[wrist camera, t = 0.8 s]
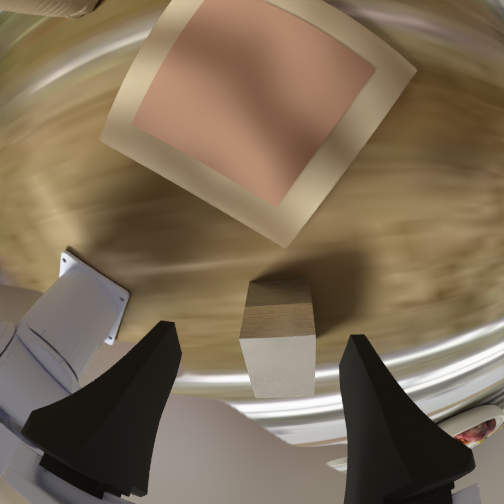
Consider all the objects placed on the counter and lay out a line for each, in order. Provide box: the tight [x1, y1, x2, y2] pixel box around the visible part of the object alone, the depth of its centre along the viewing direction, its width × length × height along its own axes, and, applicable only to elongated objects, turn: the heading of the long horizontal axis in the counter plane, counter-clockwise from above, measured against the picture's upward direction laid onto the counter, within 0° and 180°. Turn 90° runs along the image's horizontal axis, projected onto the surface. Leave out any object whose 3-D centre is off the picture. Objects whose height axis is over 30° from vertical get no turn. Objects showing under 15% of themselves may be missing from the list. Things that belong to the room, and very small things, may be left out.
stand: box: [99, 0, 417, 249], centre depth 13 cm, size 14×14×2 cm
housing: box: [239, 278, 316, 398], centre depth 20 cm, size 4×7×6 cm, turn 8°
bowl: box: [437, 405, 504, 448], centre depth 34 cm, size 30×30×8 cm
